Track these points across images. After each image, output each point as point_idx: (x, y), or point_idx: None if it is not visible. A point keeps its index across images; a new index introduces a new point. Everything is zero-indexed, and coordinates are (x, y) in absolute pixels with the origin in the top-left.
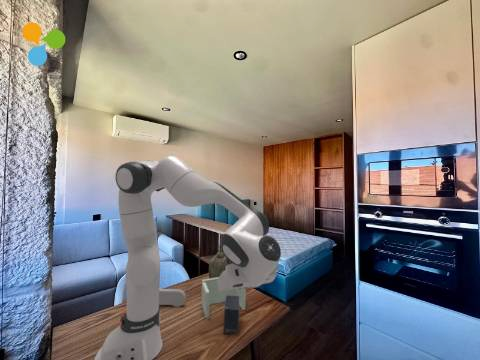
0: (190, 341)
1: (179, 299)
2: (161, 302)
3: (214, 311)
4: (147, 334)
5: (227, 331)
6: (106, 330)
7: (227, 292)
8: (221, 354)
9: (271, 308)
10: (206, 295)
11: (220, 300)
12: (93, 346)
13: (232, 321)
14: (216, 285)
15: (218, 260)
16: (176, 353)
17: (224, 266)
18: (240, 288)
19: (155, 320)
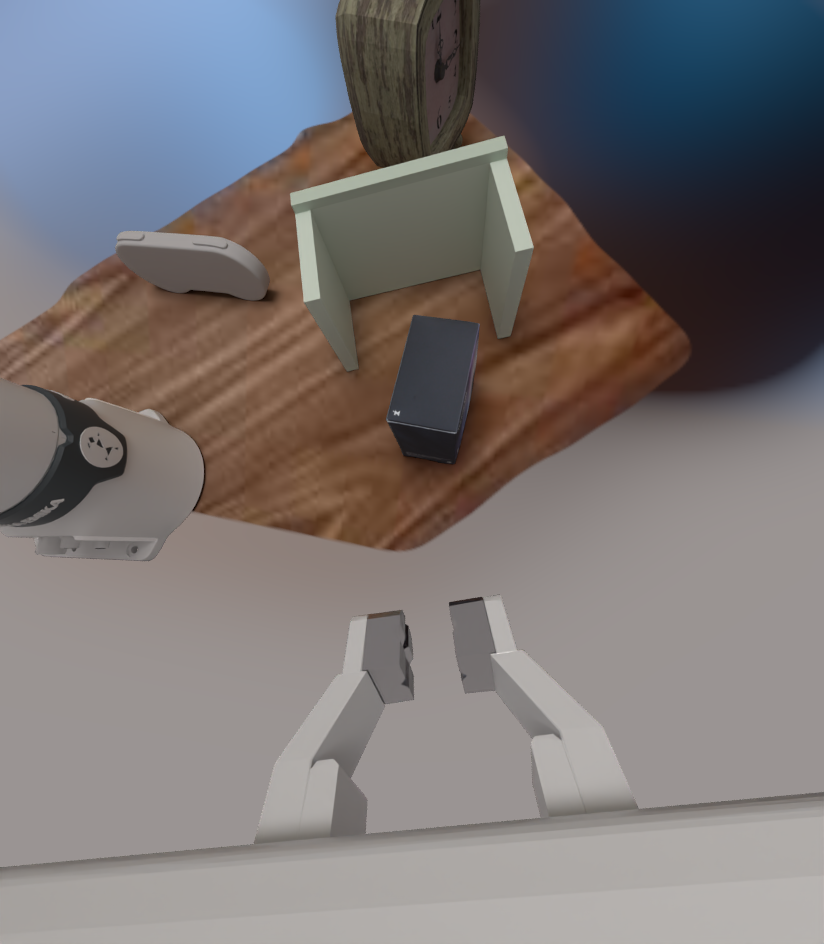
0: (288, 472)
1: (240, 279)
2: (187, 284)
3: (382, 336)
4: (80, 520)
5: (415, 455)
6: (55, 390)
7: (440, 247)
8: (383, 546)
9: (633, 338)
10: (311, 311)
11: (410, 279)
12: None
13: (431, 447)
14: (378, 221)
15: (386, 5)
16: (245, 514)
17: (437, 55)
18: (398, 695)
19: (68, 490)
